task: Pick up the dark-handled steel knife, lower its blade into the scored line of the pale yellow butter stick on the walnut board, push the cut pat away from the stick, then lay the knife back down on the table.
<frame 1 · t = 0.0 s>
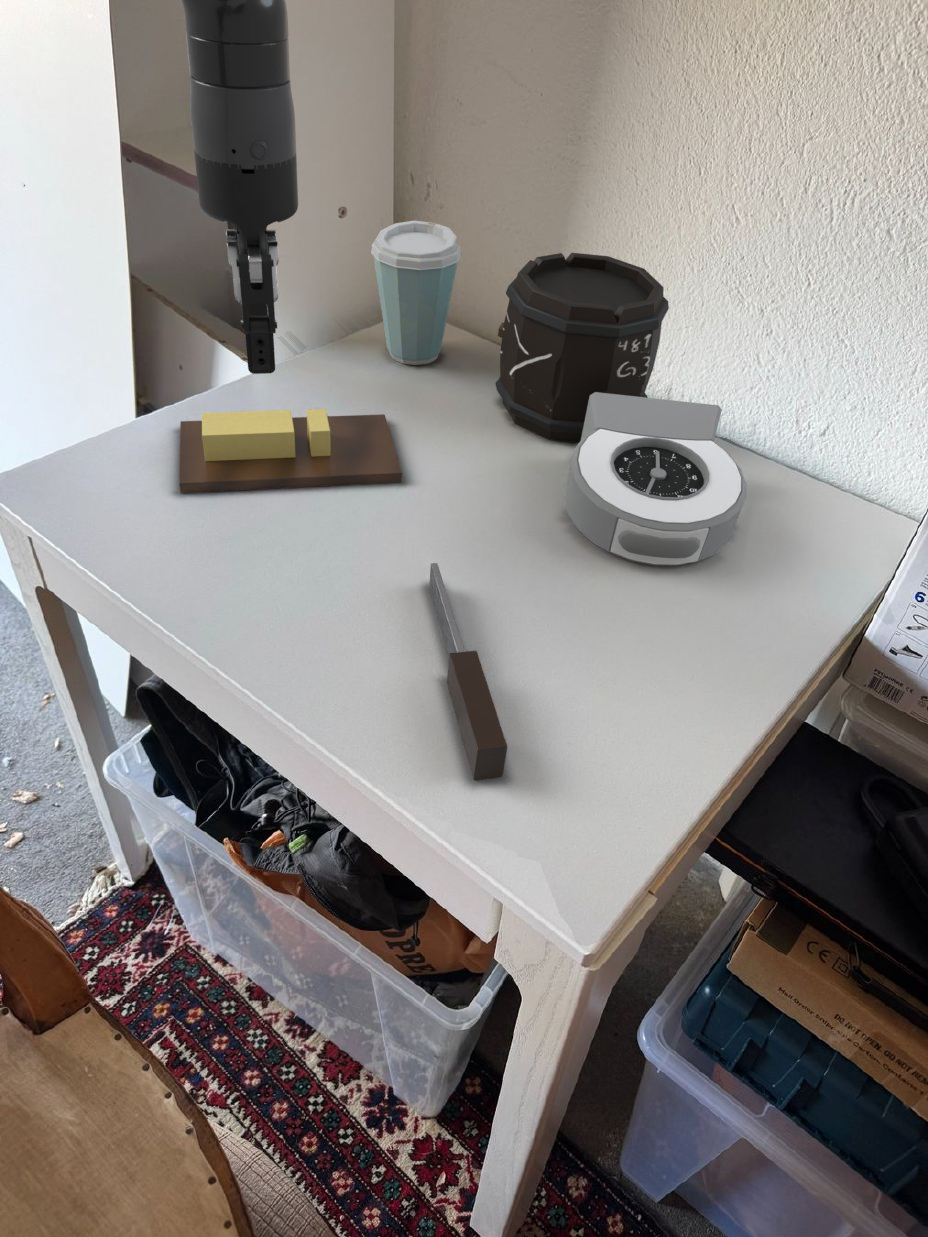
hand: (259, 348, 80), 16 cm above the table, tool pointing down, fingers open, 8 cm apart
disposable coffee cup: (411, 355, 118), on the table
board: (289, 456, 98), on the table
knife: (473, 728, 71), on the table
butter stick: (249, 447, 96), point 1 cm above the table, touching board
butter pat: (318, 445, 97), point 1 cm above the table, touching board
alarm clock: (645, 515, 95), on the table
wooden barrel: (564, 409, 110), on the table
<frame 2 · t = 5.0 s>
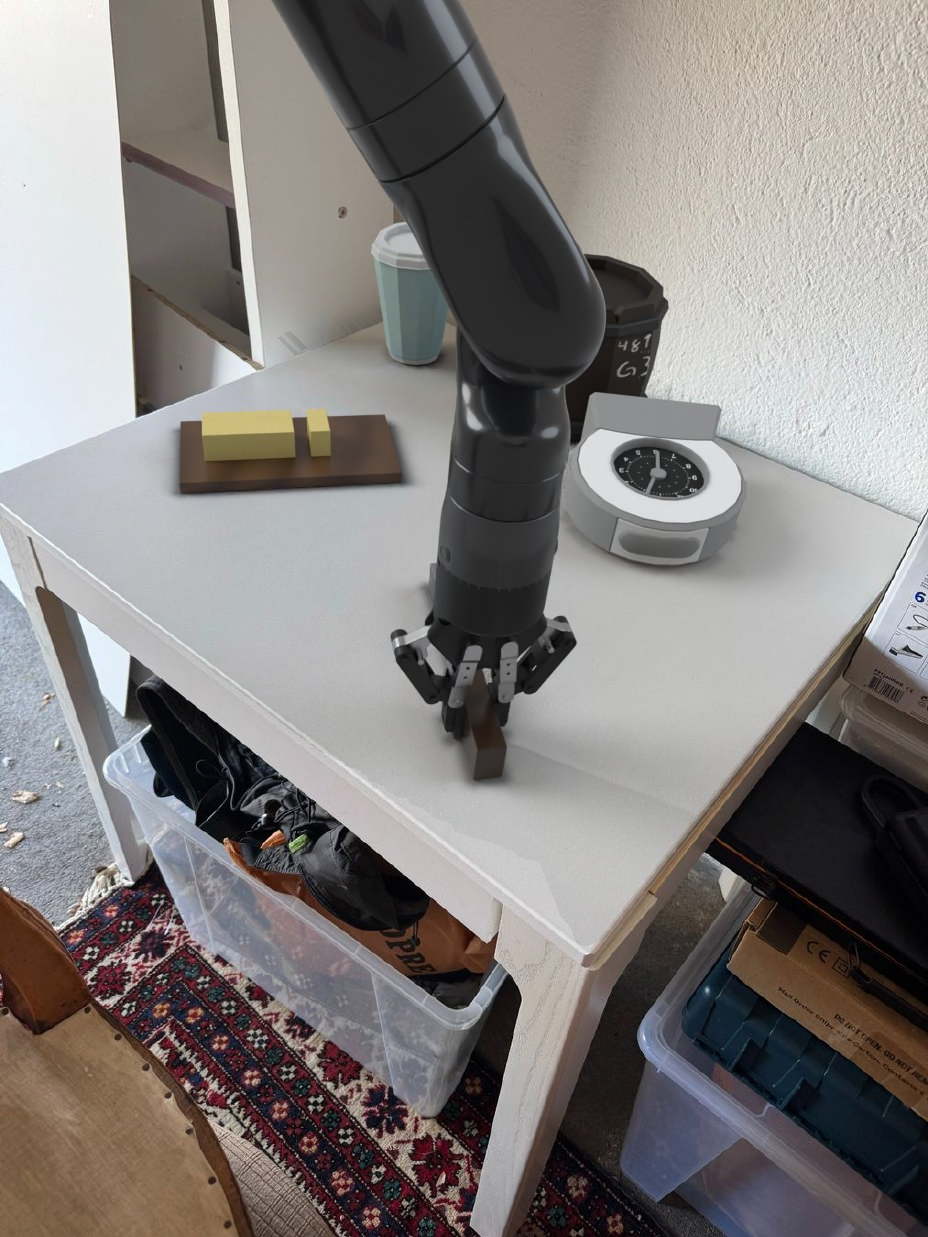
hand: (472, 727, 71), 0 cm above the table, tool pointing down, fingers closed on knife, 2 cm apart
knife: (472, 728, 71), on the table, touching gripper
everything else where it was.
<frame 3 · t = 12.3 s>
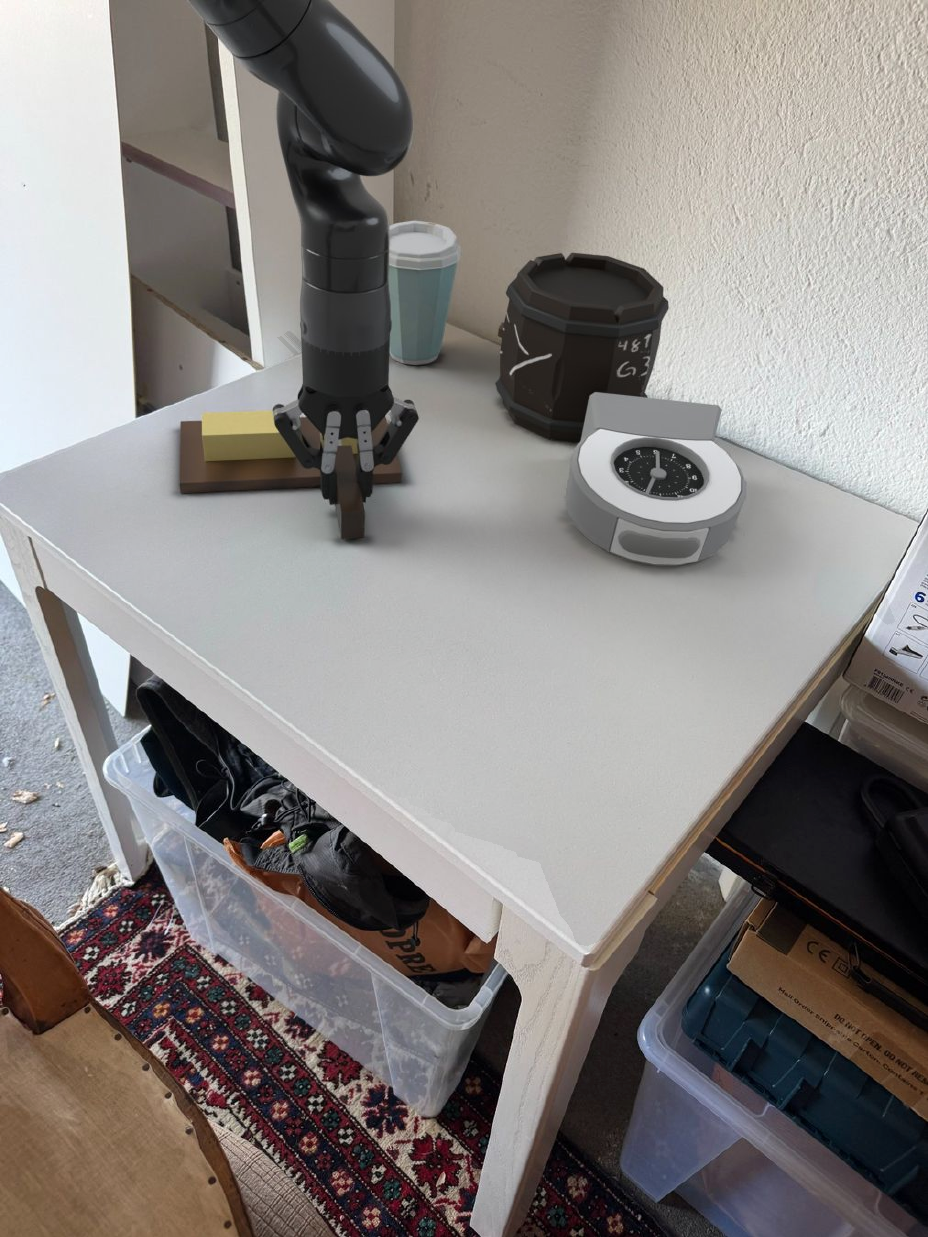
hand: (346, 498, 90), 2 cm above the table, tool pointing down, fingers closed on knife, 2 cm apart
knife: (346, 504, 90), point 1 cm above the table, tilted 6°, touching butter pat, gripper
butter pat: (345, 442, 98), point 1 cm above the table, touching knife
everything else where it was.
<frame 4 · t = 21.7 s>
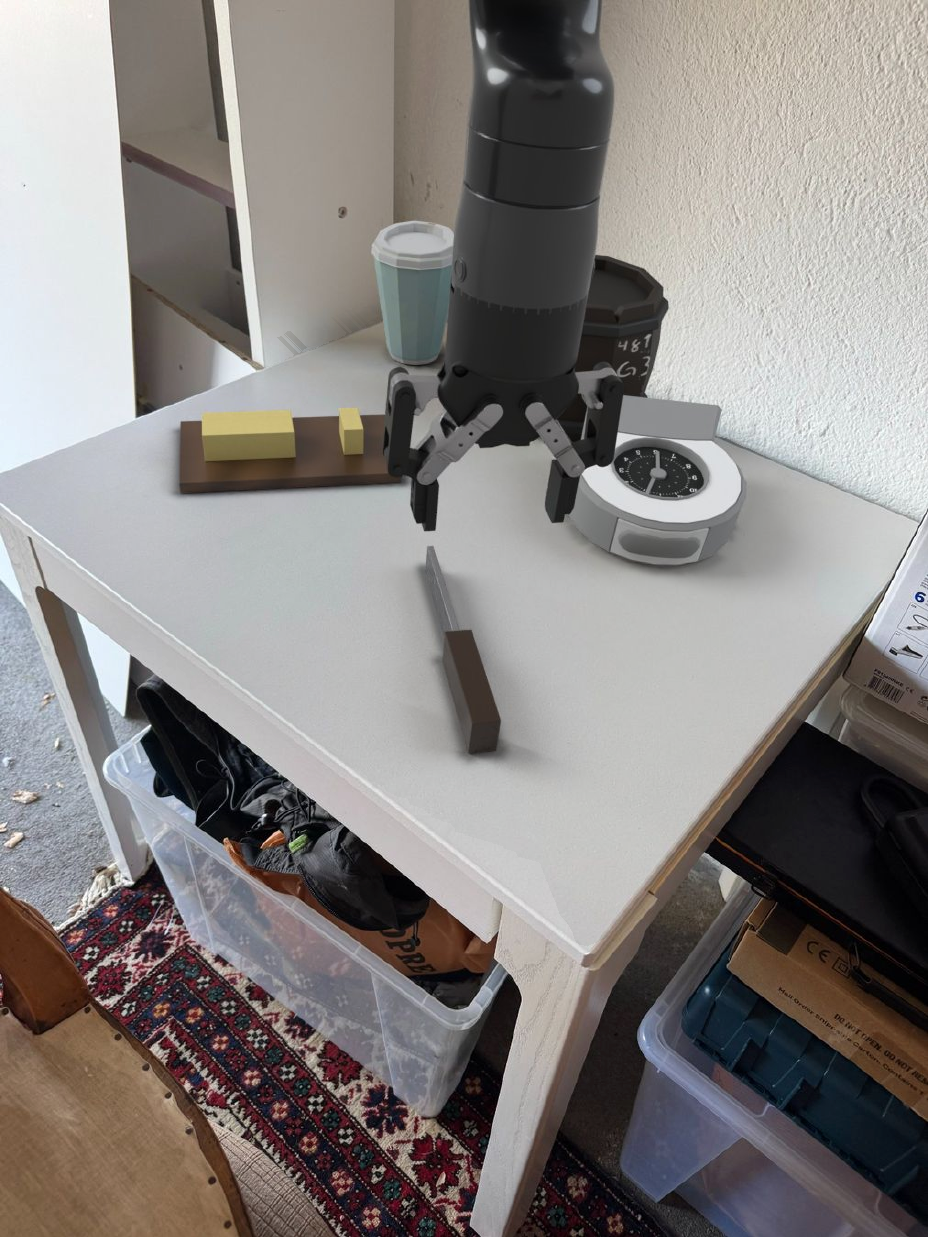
hand: (490, 520, 60), 18 cm above the table, tool pointing down, fingers open, 8 cm apart
knife: (468, 704, 73), on the table
butter pat: (351, 443, 98), point 1 cm above the table, touching board
everything else where it was.
at the end: butter pat 1.3 cm from the target spot on the board, point 1.2 cm above the board's base; butter stick moved 0.0 cm from its start; the gripper is holding nothing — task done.
